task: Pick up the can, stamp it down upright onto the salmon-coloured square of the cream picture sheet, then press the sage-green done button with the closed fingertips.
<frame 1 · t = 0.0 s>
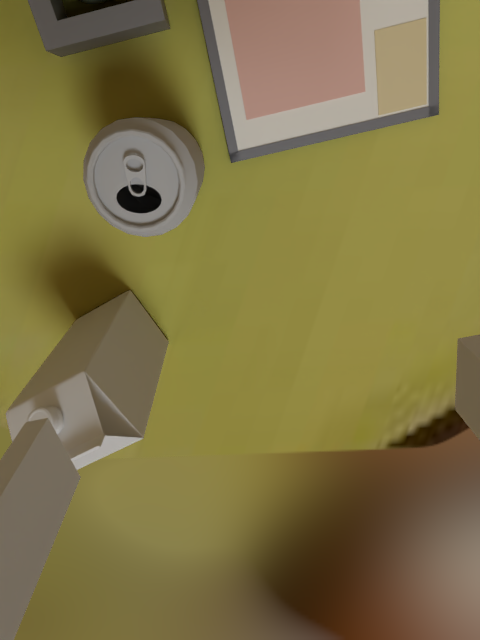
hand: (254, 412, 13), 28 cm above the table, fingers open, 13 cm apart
can: (163, 165, 36), on the table
milk carton: (123, 329, 43), on the table
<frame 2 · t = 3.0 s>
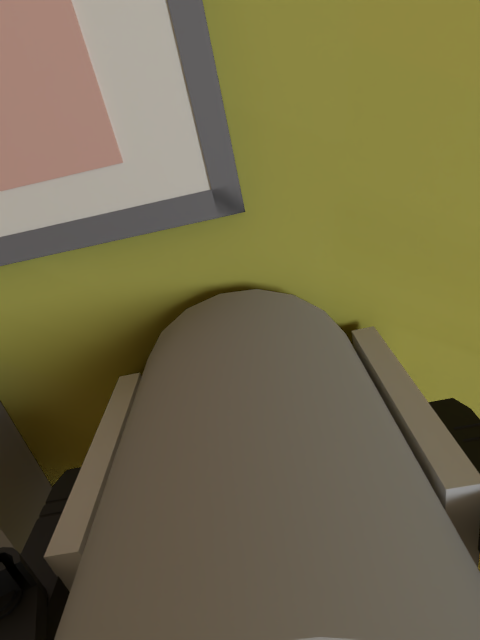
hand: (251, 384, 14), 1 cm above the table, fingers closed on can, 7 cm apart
can: (250, 370, 15), on the table, touching gripper
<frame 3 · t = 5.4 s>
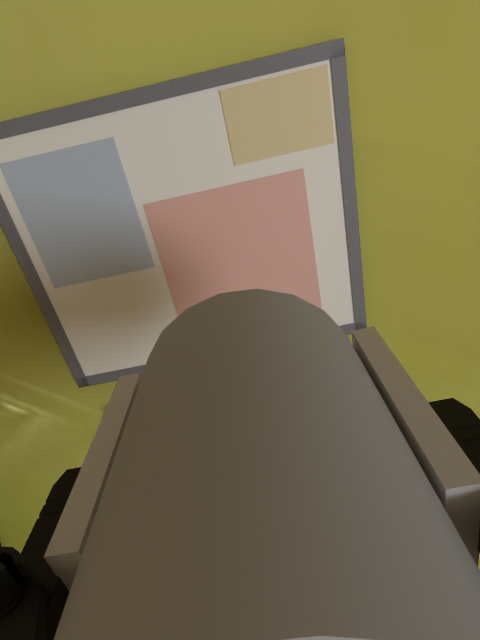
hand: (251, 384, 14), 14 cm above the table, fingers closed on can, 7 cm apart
can: (250, 369, 15), point 13 cm above the table, touching gripper
picture sheet: (188, 241, 26), on the table
when the fingers open (3 cm above the table, at t = 7.8 s): can drops 1 cm, resting on picture sheet.
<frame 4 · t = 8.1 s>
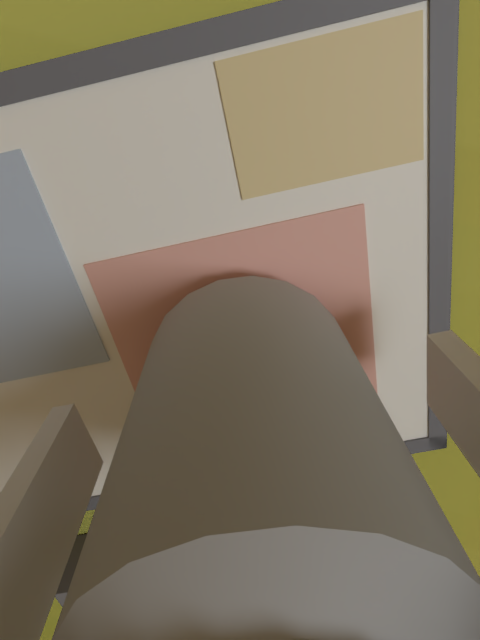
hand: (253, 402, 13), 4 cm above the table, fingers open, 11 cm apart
can: (246, 353, 16), point 1 cm above the table, touching picture sheet
picture sheet: (164, 319, 16), on the table
button housing: (178, 572, 23), on the table
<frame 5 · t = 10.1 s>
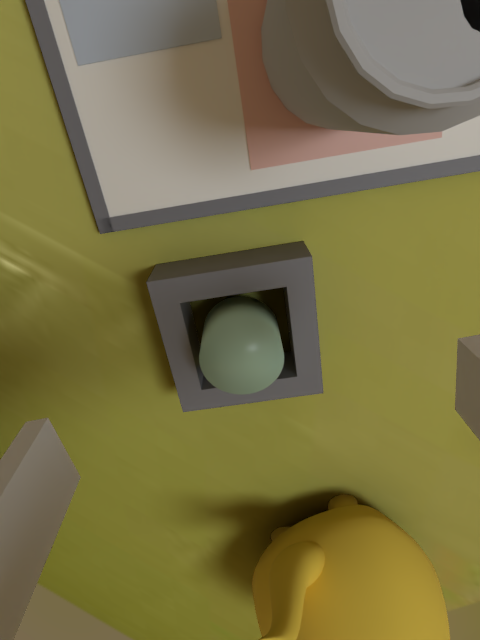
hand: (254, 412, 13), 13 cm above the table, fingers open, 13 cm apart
can: (338, 41, 19), point 1 cm above the table, touching picture sheet
picture sheet: (270, 4, 19), on the table
button housing: (240, 318, 26), on the table
teapot: (323, 528, 36), on the table
done button: (241, 344, 23), point 3 cm above the table, slide at 0.0 cm
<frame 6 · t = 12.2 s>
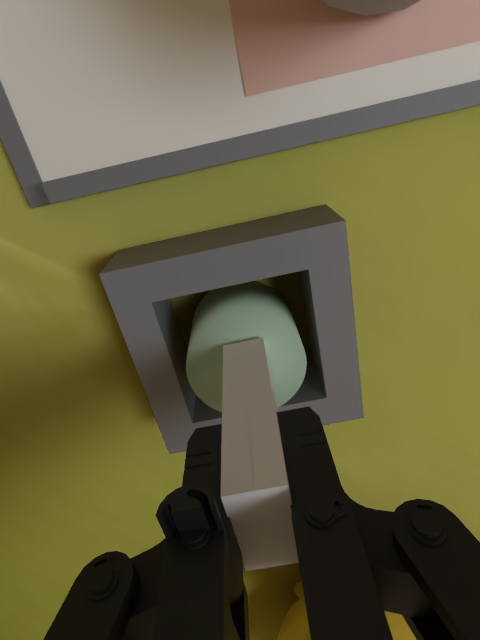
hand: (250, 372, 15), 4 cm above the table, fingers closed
button housing: (242, 320, 19), on the table
teapot: (359, 575, 29), on the table
done button: (244, 346, 17), point 2 cm above the table, slide at 0.9 cm, touching gripper
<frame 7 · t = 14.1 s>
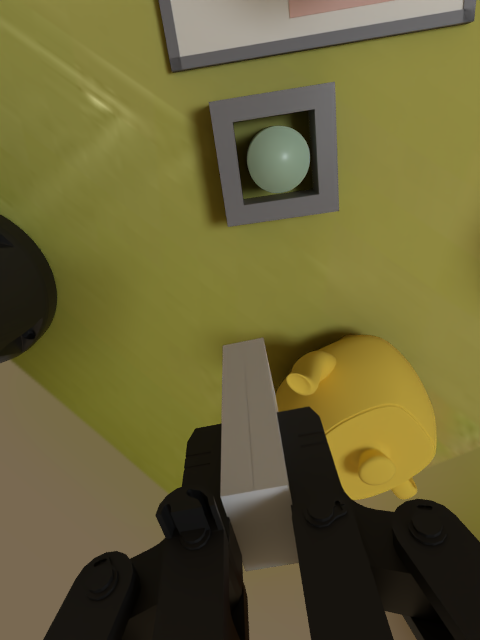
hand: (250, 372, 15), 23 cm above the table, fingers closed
button housing: (274, 156, 33), on the table
teapot: (332, 371, 43), on the table
done button: (276, 158, 31), point 2 cm above the table, slide at 1.0 cm
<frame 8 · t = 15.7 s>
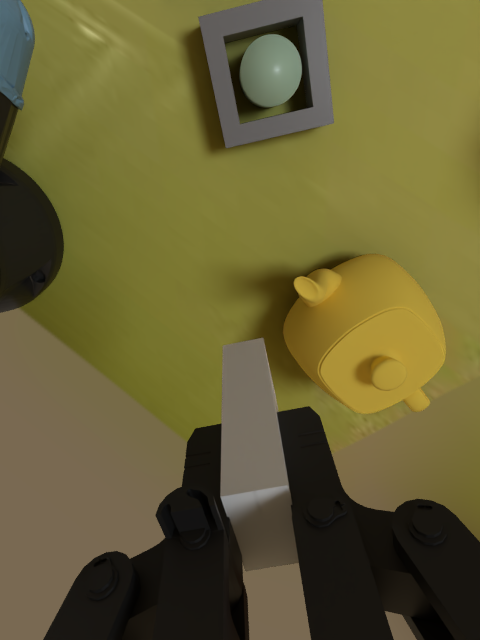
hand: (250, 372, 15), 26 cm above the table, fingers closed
button housing: (266, 76, 33), on the table
teapot: (338, 300, 43), on the table
done button: (269, 73, 31), point 2 cm above the table, slide at 1.0 cm
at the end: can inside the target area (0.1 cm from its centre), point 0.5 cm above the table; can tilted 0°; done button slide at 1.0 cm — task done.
